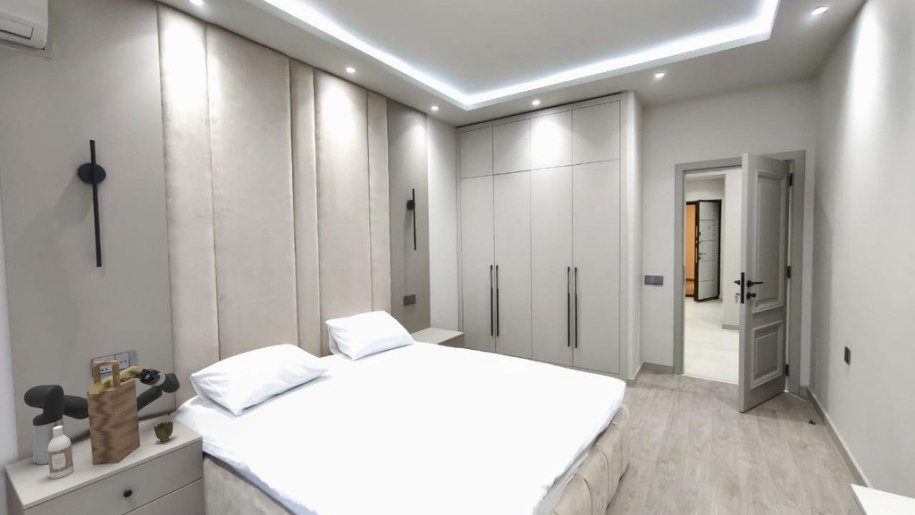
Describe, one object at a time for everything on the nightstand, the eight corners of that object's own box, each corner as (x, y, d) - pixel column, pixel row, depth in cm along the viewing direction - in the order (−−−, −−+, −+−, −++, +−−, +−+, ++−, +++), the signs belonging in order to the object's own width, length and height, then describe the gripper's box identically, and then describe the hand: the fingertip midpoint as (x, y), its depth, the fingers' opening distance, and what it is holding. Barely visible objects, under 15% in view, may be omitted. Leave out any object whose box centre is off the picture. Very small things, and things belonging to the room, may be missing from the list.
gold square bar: (89, 394, 165) (88, 386, 165) (132, 373, 191) (131, 366, 191) (98, 393, 166) (98, 385, 165) (140, 372, 191) (139, 365, 191)
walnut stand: (92, 465, 170) (84, 365, 167) (116, 447, 183) (109, 355, 181) (118, 462, 171) (110, 364, 168) (140, 445, 185) (133, 354, 182)
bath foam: (47, 481, 159) (43, 433, 158) (52, 473, 165) (48, 426, 163) (71, 475, 163) (67, 428, 161) (75, 467, 168) (71, 421, 167)
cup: (166, 444, 185) (165, 428, 185) (151, 445, 185) (149, 428, 185) (178, 436, 192) (176, 420, 192) (163, 436, 193) (161, 420, 192)
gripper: (166, 384, 202) (147, 378, 187) (135, 386, 200) (113, 380, 186) (169, 369, 205) (151, 362, 191) (139, 371, 203) (118, 364, 189)
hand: (132, 371), depth 188 cm, fingers open, 8 cm apart
